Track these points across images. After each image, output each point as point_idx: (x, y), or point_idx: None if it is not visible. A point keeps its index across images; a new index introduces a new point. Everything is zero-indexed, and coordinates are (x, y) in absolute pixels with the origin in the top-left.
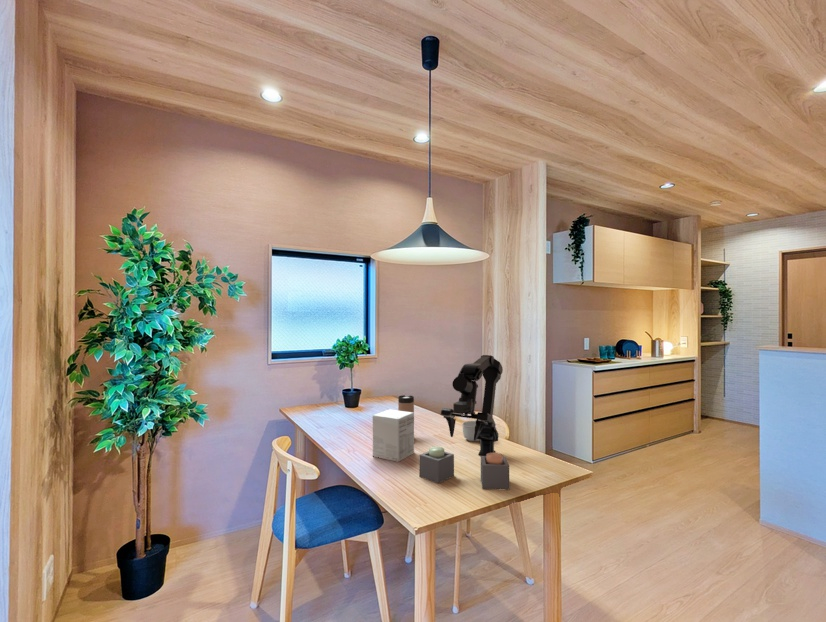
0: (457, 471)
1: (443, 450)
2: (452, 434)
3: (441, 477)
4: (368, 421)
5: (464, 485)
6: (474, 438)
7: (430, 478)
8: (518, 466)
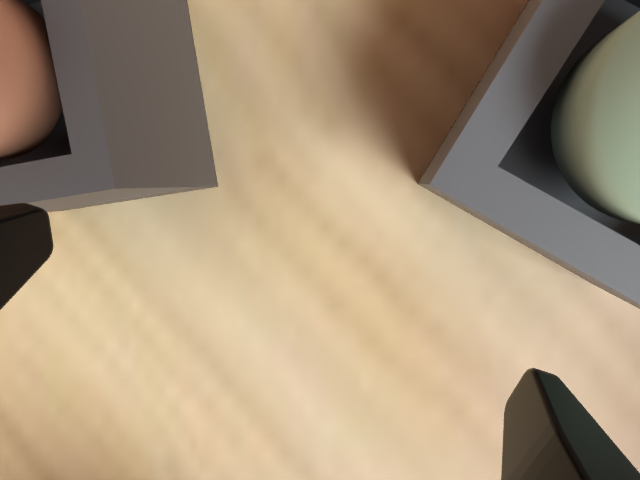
0: (401, 288)
1: (606, 67)
2: (523, 436)
3: (518, 20)
4: None
5: (317, 22)
6: (2, 213)
7: None
8: (15, 445)
